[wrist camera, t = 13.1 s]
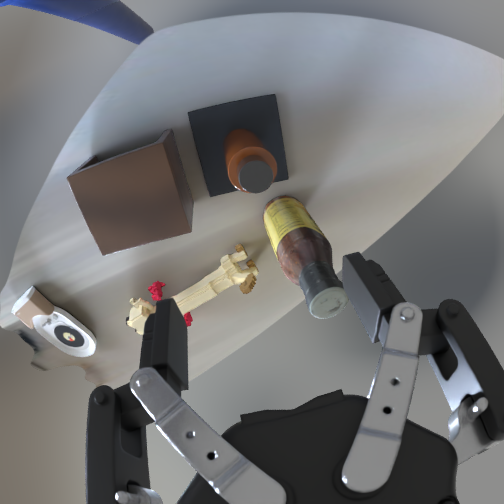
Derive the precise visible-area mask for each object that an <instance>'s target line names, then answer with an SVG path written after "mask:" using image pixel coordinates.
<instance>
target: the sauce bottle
mask: <svg viewBox="0 0 504 504" xmlns="http://www.w3.org/2000/svg"><path fill="white" fill-rule="evenodd" d="M263 220H264V225H265V228H266V231H267V233H268V236H269V239H270V241H271V244H272V246H273V249H274V252H275V254H276V257H277V259H278V262H279V263H280V265H281V268H282V270H283V272H284V274H285V276H286V277H287V278H288V279H289V280H291V281H292V282H293V283H295V284H296V285H298V286H300V287H301V289H302V290H303V292H304V295H305V299H306V304H307V306H308V309H309V311H310V313H311V314H312V315H313V316H314V317H316V318H320V319H325V318H330V317H333V316H335V315H337V314H338V313H340V312H341V311H342V310H343V309H344V307H345V306H346V305H347V303H348V301H349V298H348V296H347V294H346V292H345V290H344V287H343V283H342V282H341V281H340V280H339V279H338V277H337V276H336V274H335V272H334V269H333V263H332V248H331V245H330V243H329V241H328V240H327V238H326V237H325V236H324V234H323V233H322V231H321V230H320V229H319V227H318V226H317V224H316V223H315V221H314V220H313V219H312V217H311V216H310V214H309V213H308V212H307V210H306V209H305V208H304V206H303V205H302V204H301V203H300V202H299V201H298V200H296V199H294V198H292V197H289V196H280V197H277V198H275V199H273V200H271V201H270V202H269V203H268V204H267V205H266V207H265V210H264V214H263Z"/></svg>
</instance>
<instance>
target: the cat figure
mask: <svg viewBox="0 0 504 504" xmlns="http://www.w3.org/2000/svg"><path fill="white" fill-rule="evenodd" d="M235 249H236V251H237V252H238V253H234V254H232V255H228V254H227V255H225V256H224V257H222V258H221V260H220V262H221V266H220V267H218V268H219V269H217V270H215V271H214V272H212V273H210V274H209V275H207V276H205V277H204V278H203V279H202V280H201V281H199V282H197V283H196V284H194V285H192V286H191V287H189V288H187V289H186V290H184V291H183V292H181V293H179V294H178V295H176V296H172V297H171V298H173V299H174V300H175V302H176V304H177V306H178V308H179V309H180V311H181V313H182V315H184V319H185V322H186V325H187V327H188V326H191V322H192V321H193V320H192V317H191V315H190V312H189V311H191V310H192V309H194V308H196V307H198V306H199V305H201V304H203V303H205V302H206V301H208V300H210V299H212V298H213V297H215V296H217V295H218V293H220V292H221V291H223V290H225V289H227V288H228V287H230V286H232V285H233V284H235V283H236V285H238V284H240V283H241V285H240V290H241V291H242V292H243V294H247V293H249V292H251V290H252V289H253V287H254V285H255V284H256V283H255V281H256V277H255V276H256V275H257V274H259V273H258V272H259V271H258V268H257V267H256V265H255V263H254V262H253V260H250V261H248V262H246V263H247V266H248V267H249V269H248V268H247V269H245V270H243V271H242V270H241V268H240V266H239V265H238V263H237V261H238V262H239V261H241V260H242V261H243V260H245V259H246V258H247V256H248V255H247V253H246V251H245V250H244V248H243V246H242V245H241V244H238V245H236V246H235ZM242 282H243V283H242ZM163 286H165V284H163V283H162V282H159V281H157V282H154V283H153V286H150V287H148V290H149V291H150V292H151V293H152V294H153V295H152V298H153V300H156V301H157V300H158V301H160V300H162V299H161V297H162V293H163V292H162V291H161V287H163ZM130 303H131V304H132V305H133V307H132V309H130V316H129V317H127V318H126V324H127V325H128V326H129V327H134V328H135V332H137V333H138V334H139V335H140V334H141V335H143V334H144V324H145V321H146V320H147V318H148V316H149V314H152V313H155V311H156V305H155V306H154V307H153V306H152V305H151V304H150V303H149V302H148V301H144V300H143V299H142V298H141V297H140V298H139V299H138V300H137V299H136V298H135V299H134V298H133V297H132V298H131V299H130Z"/></svg>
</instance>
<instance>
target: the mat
mask: <svg viewBox="0 0 504 504" xmlns="http://www.w3.org/2000/svg"><path fill="white" fill-rule="evenodd" d="M188 115H189V119H190V123H191V127H192V131H193V135H194V139H195V142H196V146H197V150H198V154H199V158H200V161H201V165H202V169H203V173H204V176H205V180H206V184H207V187H208V191H209V194H210V197H212V196H216V195H220V194H225V193H229V192H233V191H237V190H239V189H237V188H236V187H235V186H234V185H233V184H232V183H231V181H230V179H229V176H228V171H227V167H226V162H225V158H224V153H223V141H224V139H225V137H226V136H227V135H228V134H229V133H230V132H232V131H234V130H236V129H247V130H250V131H252V132H253V133H254V134H256V136H257V137H258V138H259V139H260V141H261V142H262V143H263V144H264V145H265V147H266V148H267V149H268V150H269V152H270V153H271V154H272V155H273V157H274V158H275V160H276V163H277V174H276V177H275V179H274V181H273V182H278V181H283V180H287V179H288V172H287V165H286V158H285V151H284V145H283V138H282V132H281V126H280V119H279V113H278V108H277V102H276V96H275V94H272V95H266V96H260V97H254V98H249V99H244V100H239V101H234V102H229V103H224V104H220V105H216V106H211V107H207V108H203V109H199V110H195V111H191V112H188ZM273 182H272V183H273Z"/></svg>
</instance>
